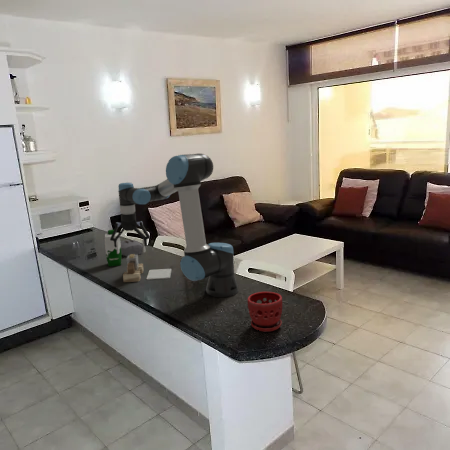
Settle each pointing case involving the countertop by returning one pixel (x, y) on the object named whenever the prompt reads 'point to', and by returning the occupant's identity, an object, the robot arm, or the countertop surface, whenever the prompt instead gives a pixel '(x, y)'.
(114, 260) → the milk carton
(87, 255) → the countertop surface
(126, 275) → the plane body
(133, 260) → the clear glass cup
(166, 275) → the mat
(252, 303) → the plant pot
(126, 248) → the small grey backpack
